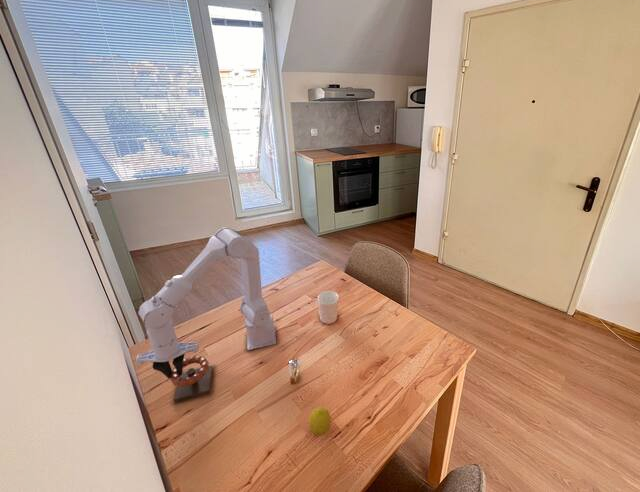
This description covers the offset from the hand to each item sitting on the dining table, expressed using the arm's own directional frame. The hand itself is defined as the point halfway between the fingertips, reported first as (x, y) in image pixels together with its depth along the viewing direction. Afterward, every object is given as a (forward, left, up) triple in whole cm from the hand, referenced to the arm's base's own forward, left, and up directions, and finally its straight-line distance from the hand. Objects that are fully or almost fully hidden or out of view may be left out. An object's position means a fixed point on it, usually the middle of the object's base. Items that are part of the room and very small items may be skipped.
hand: (175, 373), depth 84 cm
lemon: (-37, +25, -6) cm, 45 cm away
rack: (-4, 0, -6) cm, 7 cm away
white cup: (-49, -15, -6) cm, 51 cm away
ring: (-33, +8, -6) cm, 34 cm away
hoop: (-4, 0, 0) cm, 4 cm away
